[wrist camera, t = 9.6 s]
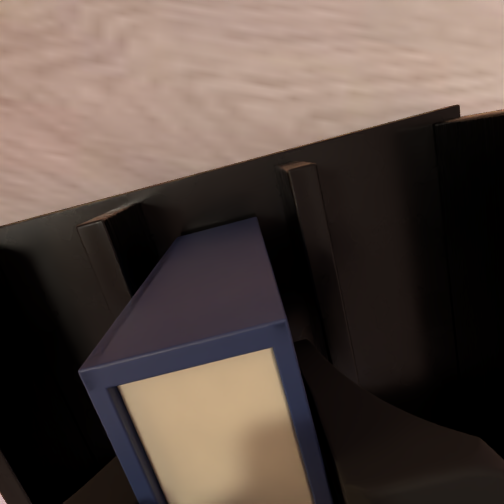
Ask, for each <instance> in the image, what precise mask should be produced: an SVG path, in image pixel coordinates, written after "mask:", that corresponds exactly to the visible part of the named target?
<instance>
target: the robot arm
mask: <svg viewBox="0 0 504 504" xmlns="http://www.w3.org/2000/svg"><path fill="white" fill-rule="evenodd" d="M293 344H294V348H295V352H296V356H297V360H298V363H299V367H300V371H301V375H302V379H303V383H304V387H305V391H306V395H307V399H308V403H309V407H310V411H311V415H312V419H313V423H314V427H315V431H316V435H317V439H318V443H319V447H320V451H321V454H322V456H323V459H324V462H325V464H326V467H327V470H328V472H329V475H330V478H331V480H332V483H333V486H334V489H335V492H336V495H337V498H338V501H339V504H504V460H503V459H502V458H501V457H500V456H499V455H498V454H497V453H496V452H495V451H494V450H493V449H492V448H491V447H489V446H488V445H487V444H486V443H485V442H484V441H483V440H482V439H481V438H479V437H476V436H472V435H469V434H466V433H462V432H459V431H456V430H453V429H449V428H446V427H443V426H440V425H437V424H434V423H432V422H429V421H427V420H424V419H422V418H419V417H416V416H414V415H412V414H409V413H407V412H405V411H403V410H401V409H399V408H397V407H395V406H393V405H391V404H389V403H387V402H385V401H383V400H381V399H379V398H378V397H376V396H374V395H373V394H371V393H370V392H368V391H366V390H365V389H363V388H362V387H360V386H359V385H358V384H356V383H355V382H353V381H352V380H351V379H349V378H348V377H347V376H345V375H344V374H343V373H342V372H340V371H339V370H338V369H337V368H336V367H335V366H333V365H332V364H331V363H330V362H329V361H328V360H327V359H326V358H325V357H324V356H323V355H322V354H321V353H320V352H319V351H318V350H317V349H316V348H315V347H314V346H313V345H312V343H311V342H310V341H309V340H307V339H304V340H300V341H296V342H293ZM62 504H139V502H138V500H137V498H136V496H135V494H134V492H133V489H132V487H131V485H130V483H129V481H128V479H127V476H126V474H125V472H124V470H123V468H122V466H121V464H120V461H119V459H118V457H117V455H116V456H115V458H113V459H112V460H111V461H110V462H109V463H108V464H107V465H106V466H105V467H104V468H103V469H102V470H101V471H99V472H98V473H97V474H96V475H95V476H94V477H93V478H92V479H91V480H90V481H88V482H87V483H86V484H85V485H84V486H83V487H82V488H81V489H79V490H78V491H77V492H76V493H74V494H73V495H72V496H71V497H70V498H68V499H67V500H66V501H65V502H63V503H62Z"/></svg>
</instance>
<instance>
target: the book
mask: <svg viewBox="0 0 504 504" xmlns="http://www.w3.org/2000/svg"><path fill="white" fill-rule="evenodd" d="M78 373H79V375H80V377H81V380H82V382H83V384H84V386H85V388H86V390H87V392H88V395H89V397H90V399H91V401H92V403H93V405H94V408H95V410H96V412H97V414H98V416H99V418H100V420H101V423H102V425H103V427H104V429H105V431H106V433H107V436H108V438H109V440H110V442H111V444H112V446H113V448H114V451H115V453H116V455H117V457H118V459H119V461H120V464H121V466H122V468H123V470H124V472H125V474H126V476H127V479H128V481H129V483H130V485H131V487H132V489H133V492H134V494H135V496H136V498H137V500H138V502H139V504H334V502H333V498H332V494H331V490H330V486H329V482H328V478H327V474H326V470H325V466H324V463H323V459H322V455H321V451H320V447H319V443H318V439H317V435H316V431H315V427H314V423H313V419H312V415H311V411H310V407H309V403H308V399H307V395H306V391H305V387H304V383H303V379H302V375H301V371H300V367H299V363H298V360H297V356H296V352H295V348H294V344H293V340H292V336H291V332H290V328H289V324H288V320H287V316H286V313H285V310H284V306H283V303H282V300H281V296H280V293H279V290H278V286H277V283H276V279H275V276H274V273H273V269H272V266H271V263H270V259H269V256H268V253H267V249H266V246H265V243H264V239H263V236H262V232H261V229H260V226H259V222H258V219H257V217H252V218H249V219H245V220H241V221H237V222H234V223H230V224H226V225H222V226H218V227H214V228H211V229H207V230H203V231H199V232H195V233H192V234H188V235H184V236H180V237H177V238H176V239H175V240H174V242H173V243H172V244H171V246H170V247H169V249H168V250H167V251H166V253H165V254H164V255H163V257H162V258H161V259H160V261H159V262H158V263H157V265H156V266H155V267H154V269H153V270H152V272H151V273H150V274H149V276H148V277H147V278H146V280H145V281H144V282H143V284H142V285H141V286H140V288H139V289H138V290H137V292H136V293H135V295H134V296H133V297H132V299H131V300H130V301H129V303H128V304H127V305H126V307H125V308H124V309H123V311H122V312H121V313H120V315H119V316H118V318H117V319H116V320H115V322H114V323H113V324H112V326H111V327H110V328H109V330H108V331H107V332H106V334H105V335H104V336H103V338H102V339H101V340H100V342H99V343H98V345H97V346H96V347H95V349H94V350H93V351H92V353H91V354H90V355H89V357H88V358H87V359H86V361H85V362H84V363H83V365H82V366H81V368H80V369H79V370H78Z"/></svg>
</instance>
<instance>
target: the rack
mask: <svg viewBox="0 0 504 504" xmlns="http://www.w3.org/2000/svg"><path fill="white" fill-rule="evenodd" d="M252 217H257V219H258V222H259V226H260V229H261V232H262V236H263V239H264V243H265V246H266V249H267V253H268V256H269V259H270V263H271V266H272V269H273V273H274V276H275V279H276V283H277V286H278V290H279V293H280V296H281V300H282V303H283V306H284V310H285V313H286V316H287V320H288V324H289V328H290V332H291V336H292V340H293V342H296V341H300V340H304V339H307V340H309V341H310V342H311V343H312V345H313V346H314V347H315V348H316V349H317V350H318V351H319V352H320V353H321V354H322V355H323V356H324V357H325V358H326V359H327V360H328V361H329V362H330V363H331V364H332V365H333V366H335V367H336V368H337V369H338V370H339V371H340V372H342V373H343V374H344V375H345V376H347V377H348V378H349V379H351V380H352V381H353V382H355V383H356V384H358V385H359V386H360V387H362V388H363V389H365V390H366V391H368V392H370V393H371V394H373V395H374V396H376V397H378V398H379V399H381V400H383V401H385V402H387V403H389V404H391V405H393V406H395V407H397V408H399V409H401V410H403V411H405V412H407V413H409V414H412V415H414V416H416V417H419V418H422V419H424V420H427V421H429V422H432V423H434V424H437V425H440V426H443V427H446V428H449V429H453V430H456V431H459V432H462V433H466V434H469V435H472V436H476V437H479V438H481V439H482V440H483V441H484V442H485V443H486V444H487V445H488V446H489V447H491V448H492V449H493V450H494V451H495V452H496V453H497V454H498V455H499V456H500V457H501V458H502V459H503V460H504V109H503V110H497V111H491V112H485V113H480V114H474V115H468V116H462V117H460V106H459V105H453V106H449V107H445V108H441V109H437V110H433V111H429V112H426V113H422V114H418V115H414V116H411V117H407V118H403V119H400V120H396V121H392V122H388V123H385V124H381V125H377V126H373V127H370V128H366V129H362V130H358V131H355V132H351V133H347V134H343V135H340V136H336V137H332V138H328V139H325V140H321V141H317V142H313V143H310V144H306V145H302V146H298V147H295V148H291V149H287V150H284V151H280V152H276V153H272V154H269V155H265V156H261V157H257V158H254V159H250V160H246V161H242V162H239V163H235V164H231V165H227V166H224V167H220V168H216V169H212V170H209V171H205V172H201V173H197V174H194V175H190V176H186V177H182V178H179V179H175V180H171V181H167V182H164V183H160V184H156V185H153V186H149V187H145V188H141V189H138V190H134V191H130V192H126V193H123V194H119V195H115V196H111V197H108V198H104V199H100V200H96V201H93V202H89V203H85V204H81V205H78V206H74V207H70V208H66V209H63V210H59V211H55V212H51V213H48V214H44V215H40V216H36V217H33V218H29V219H25V220H22V221H18V222H14V223H10V224H7V225H3V226H0V493H1V495H2V497H3V498H4V500H5V502H6V503H7V504H62V503H63V502H65V501H66V500H67V499H68V498H70V497H71V496H72V495H73V494H74V493H76V492H77V491H78V490H79V489H81V488H82V487H83V486H84V485H85V484H86V483H87V482H88V481H90V480H91V479H92V478H93V477H94V476H95V475H96V474H97V473H98V472H99V471H101V470H102V469H103V468H104V467H105V466H106V465H107V464H108V463H109V462H110V461H111V460H112V459H113V458H115V456H116V453H115V451H114V448H113V446H112V444H111V442H110V440H109V438H108V436H107V433H106V431H105V429H104V427H103V425H102V423H101V420H100V418H99V416H98V414H97V412H96V410H95V408H94V405H93V403H92V401H91V399H90V397H89V395H88V392H87V390H86V388H85V386H84V384H83V382H82V380H81V377H80V375H79V373H78V370H79V369H80V368H81V366H82V365H83V363H84V362H85V361H86V359H87V358H88V357H89V355H90V354H91V353H92V351H93V350H94V349H95V347H96V346H97V345H98V343H99V342H100V340H101V339H102V338H103V336H104V335H105V334H106V332H107V331H108V330H109V328H110V327H111V326H112V324H113V323H114V322H115V320H116V319H117V318H118V316H119V315H120V313H121V312H122V311H123V309H124V308H125V307H126V305H127V304H128V303H129V301H130V300H131V299H132V297H133V296H134V295H135V293H136V292H137V290H138V289H139V288H140V286H141V285H142V284H143V282H144V281H145V280H146V278H147V277H148V276H149V274H150V273H151V272H152V270H153V269H154V267H155V266H156V265H157V263H158V262H159V261H160V259H161V258H162V257H163V255H164V254H165V253H166V251H167V250H168V249H169V247H170V246H171V244H172V243H173V242H174V240H175V239H176V238H177V237H180V236H184V235H188V234H192V233H195V232H199V231H203V230H207V229H211V228H214V227H218V226H222V225H226V224H230V223H234V222H237V221H241V220H245V219H249V218H252ZM321 455H322V454H321ZM322 459H323V456H322ZM323 463H324V466H325V470H326V474H327V478H328V482H329V486H330V490H331V494H332V498H333V502H334V504H339V501H338V498H337V495H336V492H335V489H334V486H333V483H332V480H331V478H330V475H329V472H328V470H327V467H326V464H325V462H324V459H323Z"/></svg>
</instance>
